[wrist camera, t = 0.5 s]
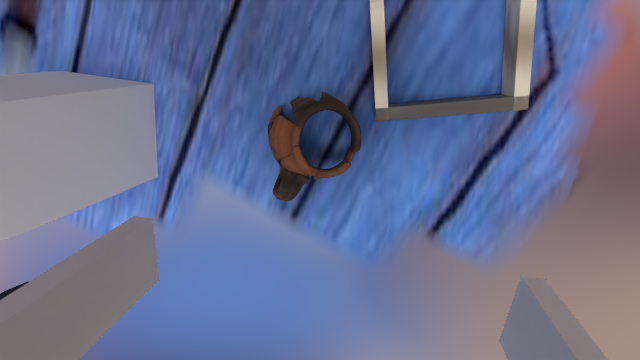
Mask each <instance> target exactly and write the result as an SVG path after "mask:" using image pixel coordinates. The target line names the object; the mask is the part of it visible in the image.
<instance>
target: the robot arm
mask: <svg viewBox="0 0 640 360" xmlns="http://www.w3.org/2000/svg"><path fill="white" fill-rule="evenodd" d="M158 281H159V272H158V263H157V252H156V243H155V233H154V223H153V219H151V218H144V217H138V216H134V217H132V218H131V219H129V220H127V221H126V222H124V223H123V224H121V225H119V226H118V227H116V228H115V229H113V230H111V231H110V232H108V233H107V234H105V235H103V236H102V237H100V238H99V239H97V240H95V241H94V242H92V243H91V244H89V245H87V246H86V247H84V248H83V249H81V250H79V251H78V252H77V253H75V254H73V255H72V256H70V257H68V258H67V259H65V260H64V261H62V262H60V263H59V264H57V265H56V266H54V267H52V268H51V269H49V270H48V271H46V272H44V273H43V274H41V275H40V276H38V277H36V278H35V279H33V280H32V281H30V282H26V283H23V284H21V285H19V286H16V287H14V288H12V289H9V290H6V291H4V292H3V293H1V294H0V360H79V359H80V357H82V356H83V355H84V354H85V353H86V351H88V350H89V349H90V348H91V347H92V346H93V345H94V344H95V343H96V342H97V341H98V340H99V339H100V338H101V337H102V336H103V335H104V334H105V333H106V332H107V331H108V330H109V329H110V328H111V327H112V326H113V325H114V324H115V323H116V322H117V321H118V320H119V319H120V318H121V317H122V316H123V315H124V314H125V313H126V312H127V311H128V310H129V309H130V308H131V307H132V306H133V305H134V304H135V303H136V302H137V301H138V300H139V299H140V298H141V297H142V296H143V295H144V294H145V293H146V292H147V291H149V290H150V289H151V288H152V287H153V285H155V284H156V283H157V282H158ZM500 343H501V345H502V348H503V350H504V352H505V355H506V357H507V359H508V360H608V359H607V358H606V357H605V355H604V354H603V353H602V352H601V350H600V349H599V348H598V346H597V345H596V344H595V342H594V341H593V340H592V339H591V337H590V336H589V335H588V333H587V332H586V331H585V329H584V328H583V327H582V325H581V324H580V323H579V321H578V320H577V319H576V318H575V317H574V315H573V314H572V312H571V311H570V310H569V308H568V307H567V306H566V305H565V303H564V302H563V301H562V299H561V298H560V297H559V296H558V294H557V293H556V292H555V290H554V289H553V288H552V286H551V285H550V284H549V282H548V281H547V280H546V279H541V278H535V277H528V276H521V277H520V280H519V283H518V286H517V289H516V292H515V295H514V298H513V301H512V304H511V307H510V310H509V313H508V316H507V320H506V322H505V325H504V328H503V331H502V334H501V337H500Z"/></svg>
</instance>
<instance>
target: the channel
mask: <svg viewBox="0 0 640 360" xmlns="http://www.w3.org/2000/svg"><path fill="white" fill-rule="evenodd" d="M536 4H537V0H506V15H505V32H504V50H503V67H502V85H501V94H494V95H483V96H471V97H460V98H448V99H437V100H425V101H414V102H403V103H391V104H388V91H387V67H386V42H385V18H384V0H370V15H371V34H372V53H373V72H374V91H375V110H376V121H385V120H398V119H410V118H423V117H436V116H449V115H461V114H474V113H487V112H500V111H513V110H525V109H528V102H529V90H530V78H531V66H532V53H533V41H534V29H535V16H536Z"/></svg>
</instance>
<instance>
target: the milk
mask: <svg viewBox="0 0 640 360" xmlns="http://www.w3.org/2000/svg"><path fill="white" fill-rule="evenodd" d="M157 177H158V167H157V146H156V126H155V105H154V85H153V84H152V83H145V82H138V81H131V80H123V79H116V78H109V77H102V76H95V75H88V74H81V73H73V72H66V71H51V72H35V73H20V74H5V75H0V241H3V240H6V239H10V238H13V237H15V236H17V235H20V234H23V233H25V232H27V231H30V230H32V229H35V228H37V227H39V226H42V225H44V224H47V223H49V222H51V221H54V220H56V219H59V218H61V217H63V216H66V215H68V214H71V213H73V212H75V211H78V210H80V209H83V208H85V207H87V206H90V205H92V204H95V203H97V202H99V201H102V200H104V199H107V198H109V197H111V196H114V195H116V194H119V193H121V192H123V191H126V190H128V189H131V188H133V187H135V186H138V185H140V184H143V183H145V182H147V181H150V180H152V179H155V178H157Z"/></svg>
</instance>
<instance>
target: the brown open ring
mask: <svg viewBox="0 0 640 360" xmlns="http://www.w3.org/2000/svg"><path fill="white" fill-rule="evenodd" d="M291 105H292V107H293V114H294V122H291V121H290V120H287V119H286V118H284V116H282V115H280V116H278V115H279V114H280V112H281V111H282V108H281V107H278V108H277V109H276V110H275V111H274V113H273V115H272V117H271V119H270V122H269V125H268V134H269V142H270V146H271V150H272V152H273V155H274V157H275V159H276V160H277V162H278V163H279V165H280V167H281V168H280V174H279V176H278V178H277V180H276V183H275V185H274V188H273V193H274V195H275V197H276V198H277V199H279V200H283V201H290V200H292V199H293V198H295V196H296V195H297V194H298V192H299V191H300V189H301V187H302V186H303V185H304V184H305V183H307V182H309V181H310V178H309V175H312V176H313V177H314V179H320V178H329V177H335V176H337V175H339V174H341V173H343V172H344V171H346V170H347V169H348V168H349V167H350V166H351V163H350V161H351V160H352V158H353V156H354V154H355V152H356V151H358V150H359V149H360V147H361V131H360V126H359V124H358V122H357V120H356V119H355V117H354V115H353V114H352V112H351V111H350V110H349V109H348V107H347V106H346V105H345V104H344V103H343V102H341V101H339V100H337V99H336V98H334V97H333V96H331V95H330V94H328V93H326V92H322V96H321V99H320V101H319V102H317V101H316V100H315V99H313V98H309V97H307V98H302V97H297V98H295V99H294V100H292V101H291ZM323 110H332V111H335V112H337V113H339V114H340V115H342V116H343V117H344V118H345V120H346V121H347V123H348V125H349V127H350V131H351V146H350V147H349V148H348V150H347V152H346V155H345V158H344V160H343V161H342V162H341V163H339V164H338V165H337V166H335V167H333V168H330V169H319V168H315V167H313V166H311V165H310V164H309V163H308V162H307V161H306V160H305V158H304V157H303V155H302V152H301V149H300V134H301V131H302V127H303V125H304V124H305V122H306V121H307V120H308V118H309V117H311V116H312V115H313V114H315V113H317V112H319V111H323Z"/></svg>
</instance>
